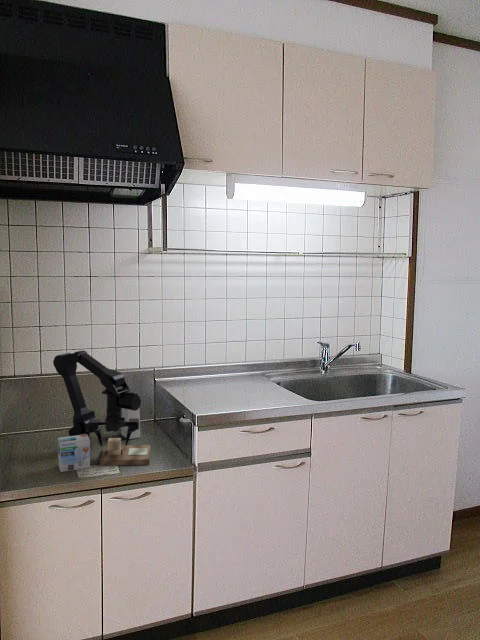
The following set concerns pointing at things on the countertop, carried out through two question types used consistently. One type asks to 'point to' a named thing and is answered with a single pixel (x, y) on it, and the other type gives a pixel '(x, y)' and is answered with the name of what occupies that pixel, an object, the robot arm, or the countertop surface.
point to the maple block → (114, 446)
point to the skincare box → (128, 415)
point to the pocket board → (127, 455)
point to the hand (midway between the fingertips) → (114, 445)
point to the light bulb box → (73, 452)
